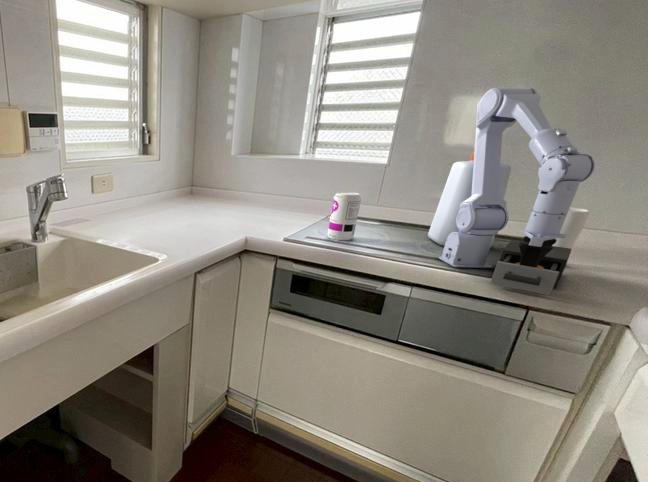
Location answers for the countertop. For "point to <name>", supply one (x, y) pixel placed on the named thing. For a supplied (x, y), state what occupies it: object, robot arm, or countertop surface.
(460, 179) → the plastic bottle
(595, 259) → the countertop surface
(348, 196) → the supplement can
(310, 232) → the countertop surface
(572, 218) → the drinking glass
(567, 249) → the black drawer unit
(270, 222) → the countertop surface
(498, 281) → the pod drawer
